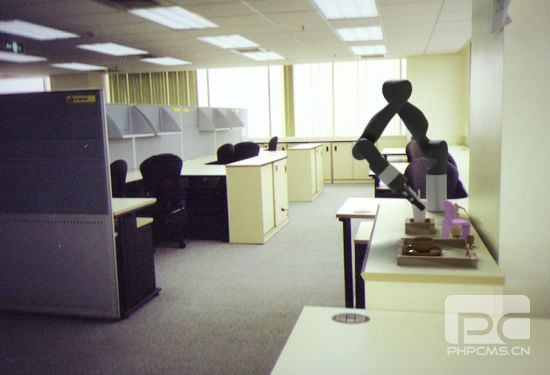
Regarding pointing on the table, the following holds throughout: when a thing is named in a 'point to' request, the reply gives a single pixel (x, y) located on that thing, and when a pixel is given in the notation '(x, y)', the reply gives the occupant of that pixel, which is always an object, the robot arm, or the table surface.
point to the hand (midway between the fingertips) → (423, 207)
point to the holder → (420, 226)
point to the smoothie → (417, 214)
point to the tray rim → (437, 260)
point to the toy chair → (453, 221)
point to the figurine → (457, 229)
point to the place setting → (430, 246)
